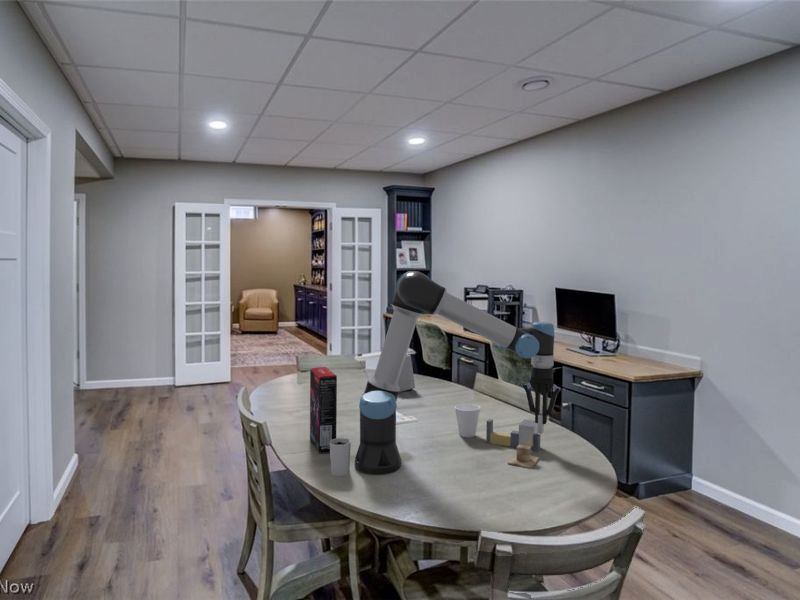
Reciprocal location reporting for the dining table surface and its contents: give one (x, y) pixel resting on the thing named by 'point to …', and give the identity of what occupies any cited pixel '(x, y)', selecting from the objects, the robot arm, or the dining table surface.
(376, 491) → the dining table surface
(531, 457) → the tan tabbed plate
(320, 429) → the graphics card box
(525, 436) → the grey block
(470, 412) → the cup
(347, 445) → the toilet paper roll
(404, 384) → the electrical switch box
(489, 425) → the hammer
